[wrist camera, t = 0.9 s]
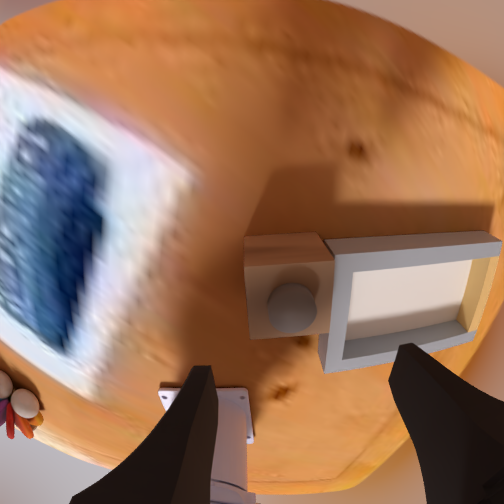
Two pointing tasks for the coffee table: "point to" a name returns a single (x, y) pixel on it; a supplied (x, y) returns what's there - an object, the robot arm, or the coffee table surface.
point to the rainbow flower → (18, 408)
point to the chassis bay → (405, 295)
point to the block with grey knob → (288, 285)
